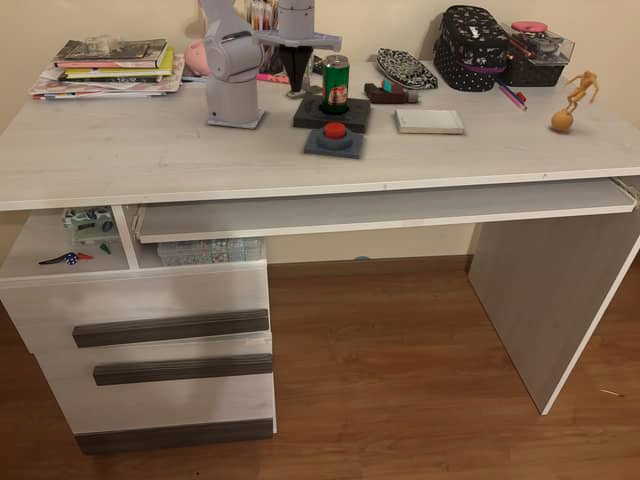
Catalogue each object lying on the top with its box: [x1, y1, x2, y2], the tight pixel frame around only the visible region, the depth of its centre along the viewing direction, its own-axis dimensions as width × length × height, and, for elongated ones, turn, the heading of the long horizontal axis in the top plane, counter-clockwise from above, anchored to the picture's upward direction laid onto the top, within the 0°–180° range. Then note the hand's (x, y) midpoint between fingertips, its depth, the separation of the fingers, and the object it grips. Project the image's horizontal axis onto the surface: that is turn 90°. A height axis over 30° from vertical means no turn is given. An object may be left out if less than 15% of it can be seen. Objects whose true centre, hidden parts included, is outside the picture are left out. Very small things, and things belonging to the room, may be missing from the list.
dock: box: [292, 93, 372, 135], centre depth 103 cm, size 14×12×2 cm
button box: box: [303, 127, 365, 160], centre depth 94 cm, size 10×8×2 cm
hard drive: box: [394, 108, 465, 135], centre depth 102 cm, size 2×8×12 cm
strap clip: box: [286, 73, 322, 99], centre depth 112 cm, size 8×3×4 cm, turn 129°
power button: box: [325, 123, 345, 139], centre depth 93 cm, size 4×4×2 cm
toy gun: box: [363, 78, 422, 104], centre depth 112 cm, size 10×12×5 cm
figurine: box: [550, 69, 600, 132], centre depth 99 cm, size 8×6×12 cm
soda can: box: [321, 54, 351, 115], centre depth 100 cm, size 5×5×12 cm
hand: (296, 90), depth 88 cm, fingers closed
